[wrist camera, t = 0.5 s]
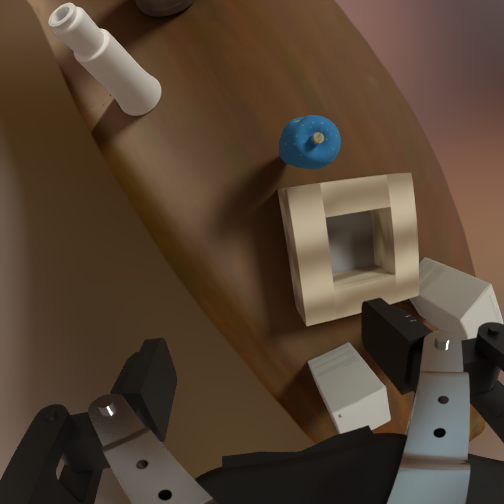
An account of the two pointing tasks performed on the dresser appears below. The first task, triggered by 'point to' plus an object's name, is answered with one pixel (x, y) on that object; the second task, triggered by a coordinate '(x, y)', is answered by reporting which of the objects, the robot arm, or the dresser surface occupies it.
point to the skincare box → (454, 299)
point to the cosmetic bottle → (106, 60)
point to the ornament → (309, 142)
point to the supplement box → (350, 389)
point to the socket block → (350, 244)
